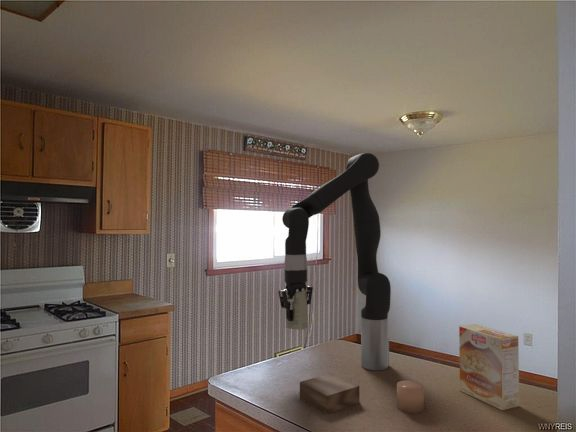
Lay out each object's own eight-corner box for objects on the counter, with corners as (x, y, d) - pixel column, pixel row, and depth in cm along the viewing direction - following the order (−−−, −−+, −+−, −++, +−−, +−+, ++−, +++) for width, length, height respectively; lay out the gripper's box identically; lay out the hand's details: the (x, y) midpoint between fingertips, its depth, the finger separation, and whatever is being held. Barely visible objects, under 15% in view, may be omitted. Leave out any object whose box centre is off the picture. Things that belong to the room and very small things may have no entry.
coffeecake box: (458, 390, 125) (458, 325, 125) (476, 387, 127) (475, 323, 128) (501, 411, 111) (501, 338, 111) (520, 406, 114) (519, 335, 114)
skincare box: (308, 327, 137) (307, 290, 137) (301, 330, 133) (301, 292, 133) (291, 325, 140) (291, 289, 140) (284, 328, 136) (284, 291, 137)
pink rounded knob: (405, 399, 118) (405, 378, 118) (428, 407, 113) (428, 385, 113) (392, 407, 113) (391, 385, 113) (415, 415, 108) (414, 392, 108)
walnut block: (330, 389, 126) (330, 373, 126) (359, 403, 116) (359, 385, 116) (299, 399, 119) (299, 382, 119) (327, 415, 109) (327, 395, 109)
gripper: (303, 265, 144) (303, 314, 144) (272, 268, 135) (272, 321, 134) (318, 267, 139) (319, 317, 139) (287, 270, 129) (288, 325, 129)
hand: (296, 319), depth 137 cm, fingers closed on skincare box, 5 cm apart
